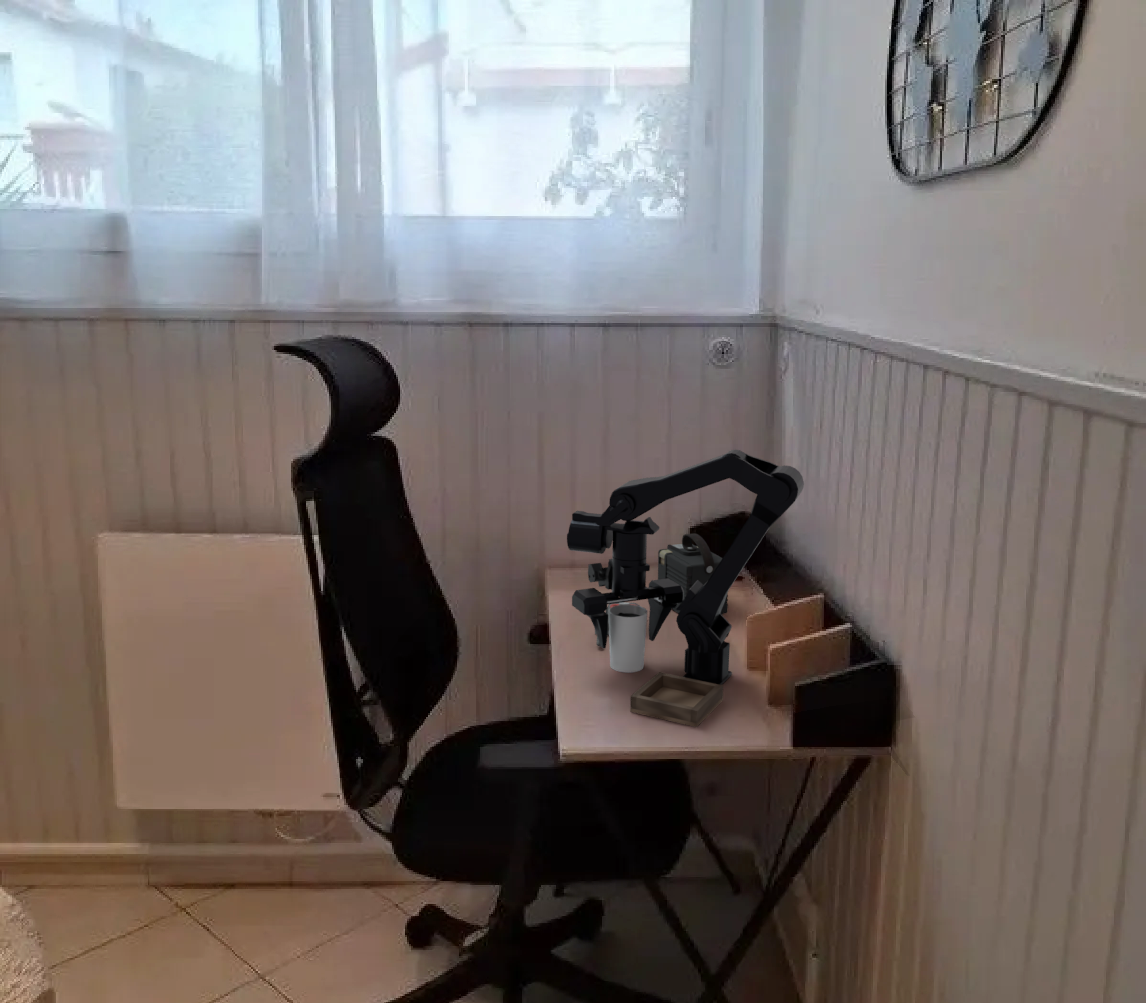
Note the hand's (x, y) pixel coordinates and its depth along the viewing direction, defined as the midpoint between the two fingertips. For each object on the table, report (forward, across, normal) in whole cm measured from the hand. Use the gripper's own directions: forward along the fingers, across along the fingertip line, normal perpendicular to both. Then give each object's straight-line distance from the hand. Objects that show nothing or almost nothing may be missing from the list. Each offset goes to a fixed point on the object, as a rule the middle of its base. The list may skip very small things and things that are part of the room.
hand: (627, 644), depth 179 cm
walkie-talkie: (+5, -6, -16) cm, 18 cm away
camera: (+4, -26, -23) cm, 35 cm away
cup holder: (+4, 0, +18) cm, 18 cm away
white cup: (+4, 0, 0) cm, 4 cm away
